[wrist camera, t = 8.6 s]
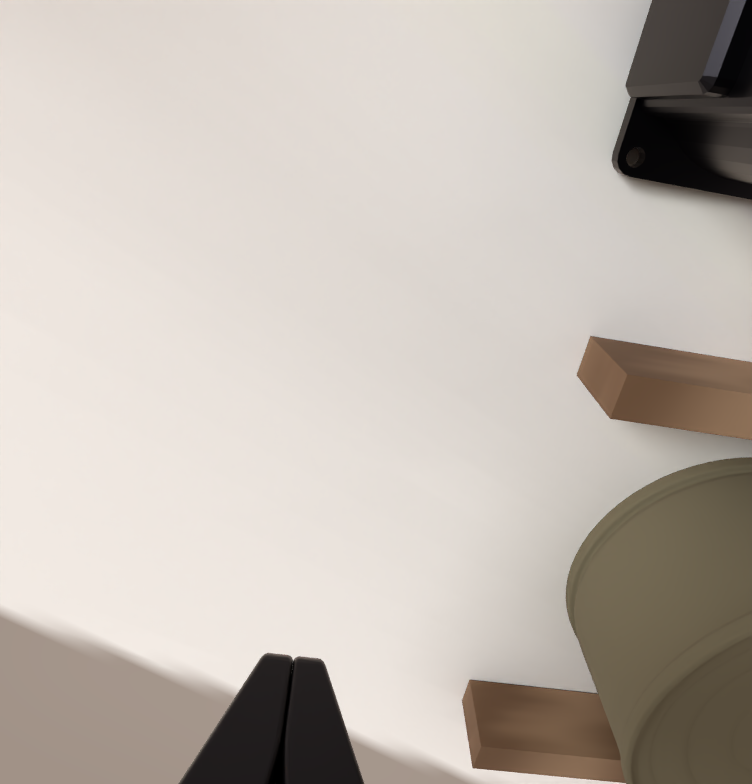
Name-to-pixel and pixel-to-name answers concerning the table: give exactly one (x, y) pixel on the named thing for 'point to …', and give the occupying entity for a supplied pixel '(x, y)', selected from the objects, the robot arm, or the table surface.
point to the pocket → (585, 710)
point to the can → (673, 624)
